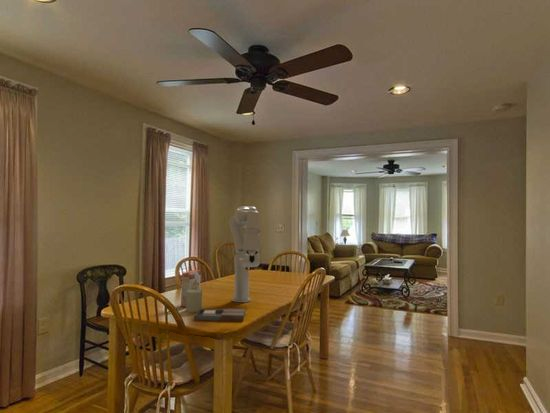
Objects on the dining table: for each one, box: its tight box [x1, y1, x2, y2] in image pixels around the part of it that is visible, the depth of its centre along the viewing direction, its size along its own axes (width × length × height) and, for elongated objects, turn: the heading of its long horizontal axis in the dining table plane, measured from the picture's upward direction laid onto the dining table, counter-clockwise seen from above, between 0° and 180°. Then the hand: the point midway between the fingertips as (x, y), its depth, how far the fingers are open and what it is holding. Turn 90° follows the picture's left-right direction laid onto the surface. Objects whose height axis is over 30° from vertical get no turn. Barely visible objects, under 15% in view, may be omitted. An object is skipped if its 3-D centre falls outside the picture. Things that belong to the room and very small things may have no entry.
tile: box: [203, 310, 216, 316], centre depth 191 cm, size 6×6×2 cm
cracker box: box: [180, 269, 202, 308], centre depth 218 cm, size 14×6×21 cm, turn 163°
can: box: [185, 288, 203, 313], centre depth 205 cm, size 9×9×12 cm
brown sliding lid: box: [220, 307, 246, 322], centre depth 191 cm, size 14×12×3 cm
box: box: [193, 308, 225, 322], centre depth 191 cm, size 14×14×2 cm
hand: (251, 262), depth 204 cm, fingers closed
